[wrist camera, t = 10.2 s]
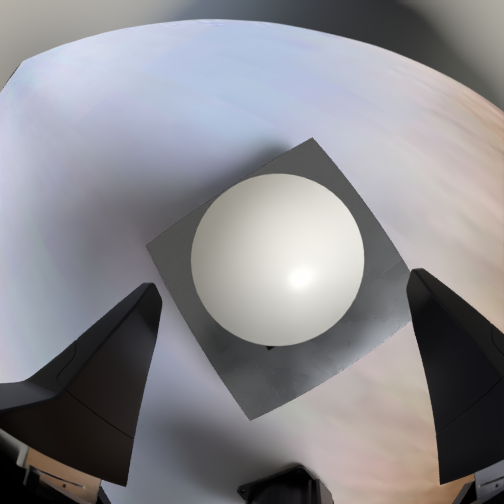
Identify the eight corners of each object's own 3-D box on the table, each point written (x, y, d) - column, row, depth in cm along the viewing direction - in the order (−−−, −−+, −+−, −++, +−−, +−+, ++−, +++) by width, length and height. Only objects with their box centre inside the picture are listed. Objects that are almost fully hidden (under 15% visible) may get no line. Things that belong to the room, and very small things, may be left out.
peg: (282, 324, 19) (263, 379, 6) (243, 277, 20) (161, 247, 7) (330, 284, 19) (396, 265, 6) (290, 238, 20) (284, 144, 7)
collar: (258, 398, 18) (250, 420, 14) (170, 254, 21) (145, 245, 17) (404, 303, 18) (428, 305, 14) (309, 163, 20) (312, 137, 17)
